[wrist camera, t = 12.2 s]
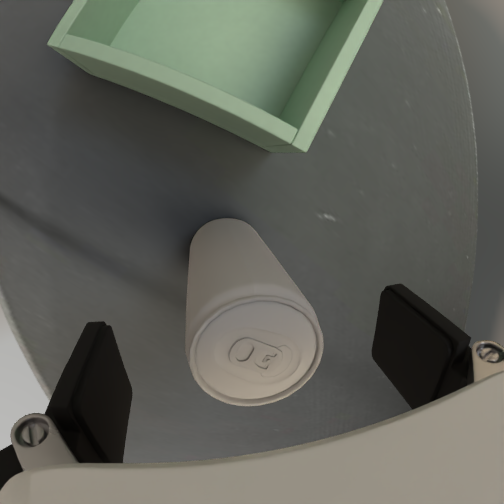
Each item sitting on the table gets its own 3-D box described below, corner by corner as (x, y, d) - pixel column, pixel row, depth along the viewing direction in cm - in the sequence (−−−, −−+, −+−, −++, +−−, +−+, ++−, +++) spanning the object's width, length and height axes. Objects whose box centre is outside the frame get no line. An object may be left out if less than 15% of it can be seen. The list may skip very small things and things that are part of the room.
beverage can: (240, 294, 22) (281, 419, 11) (177, 266, 21) (162, 386, 10) (273, 235, 21) (353, 323, 10) (210, 202, 20) (226, 267, 9)
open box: (88, 73, 16) (45, 44, 10) (189, -66, 13) (191, -120, 7) (271, 153, 20) (306, 153, 13) (350, 6, 17) (398, -30, 11)
